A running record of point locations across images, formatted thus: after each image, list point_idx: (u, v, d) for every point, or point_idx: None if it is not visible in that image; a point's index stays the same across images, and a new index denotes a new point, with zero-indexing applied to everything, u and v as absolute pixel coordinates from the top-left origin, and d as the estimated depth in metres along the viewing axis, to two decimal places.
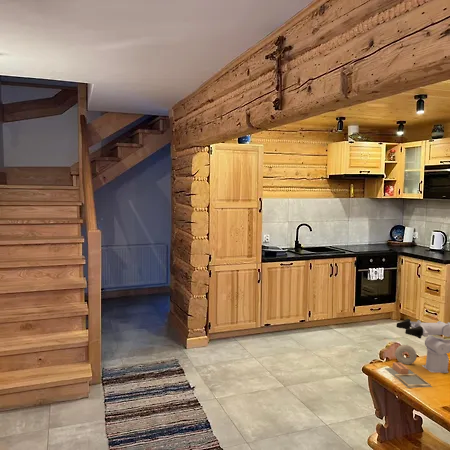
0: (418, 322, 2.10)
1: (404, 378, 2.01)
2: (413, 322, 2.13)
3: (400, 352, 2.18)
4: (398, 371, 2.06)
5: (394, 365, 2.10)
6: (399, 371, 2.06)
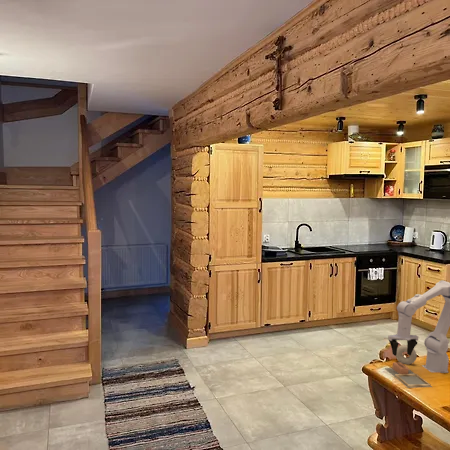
0: None
1: (404, 378, 2.01)
2: (398, 339, 2.05)
3: (400, 352, 2.18)
4: (398, 371, 2.06)
5: (394, 365, 2.10)
6: (399, 371, 2.06)
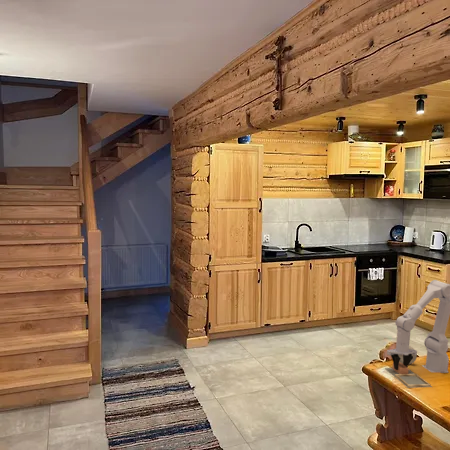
0: None
1: (404, 378, 2.01)
2: (397, 353, 2.05)
3: None
4: (398, 371, 2.06)
5: None
6: (399, 371, 2.06)
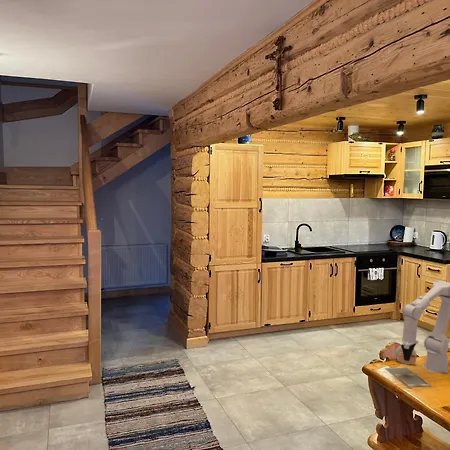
0: None
1: (404, 378, 2.01)
2: (411, 344, 1.98)
3: None
4: (410, 361, 2.01)
5: (402, 357, 2.02)
6: (412, 361, 2.00)
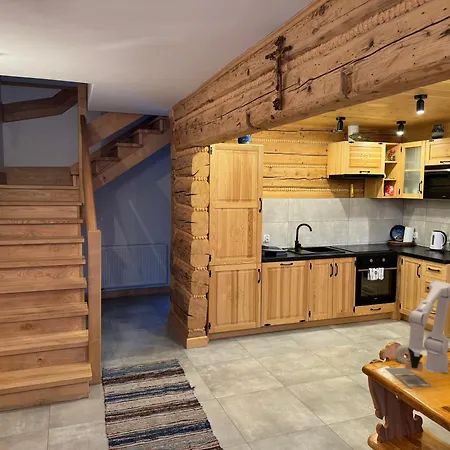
0: None
1: (404, 378, 2.01)
2: (420, 351, 1.93)
3: (400, 352, 2.18)
4: (418, 369, 1.96)
5: (409, 364, 1.97)
6: (420, 368, 1.95)
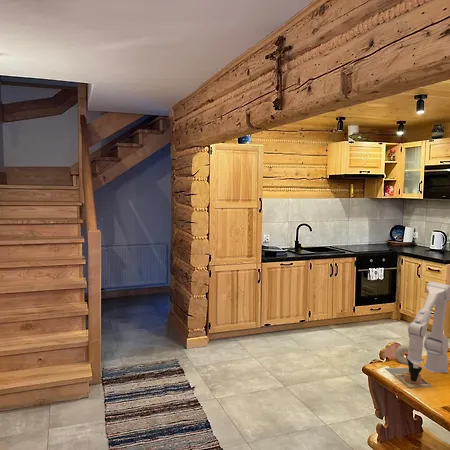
0: None
1: None
2: None
3: (400, 352, 2.18)
4: (417, 381, 1.96)
5: (408, 377, 1.97)
6: (419, 381, 1.96)
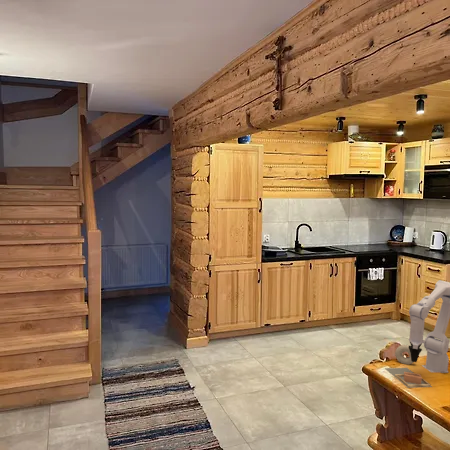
0: None
1: None
2: (419, 344, 1.98)
3: (400, 352, 2.18)
4: (417, 381, 1.96)
5: (408, 377, 1.97)
6: (419, 381, 1.96)
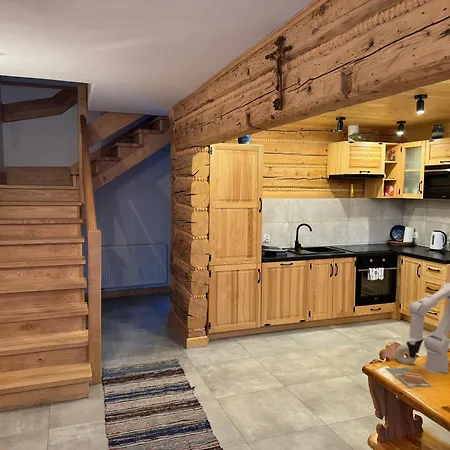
0: None
1: None
2: (417, 340, 2.02)
3: (400, 352, 2.18)
4: (417, 381, 1.96)
5: (408, 377, 1.97)
6: (419, 381, 1.96)
